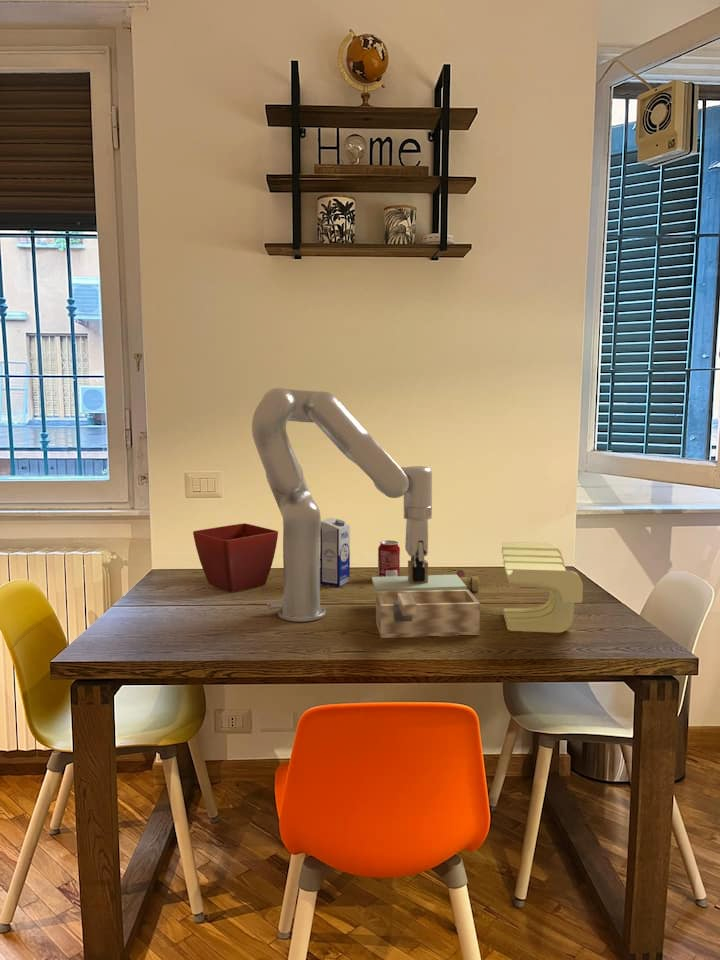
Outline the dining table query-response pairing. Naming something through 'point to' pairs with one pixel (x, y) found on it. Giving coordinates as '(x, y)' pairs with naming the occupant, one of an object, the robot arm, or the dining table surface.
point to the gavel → (469, 581)
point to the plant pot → (236, 555)
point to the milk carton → (334, 552)
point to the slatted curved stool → (543, 570)
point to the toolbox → (428, 614)
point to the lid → (409, 585)
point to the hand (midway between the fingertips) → (417, 578)
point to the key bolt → (406, 604)
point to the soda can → (388, 559)
